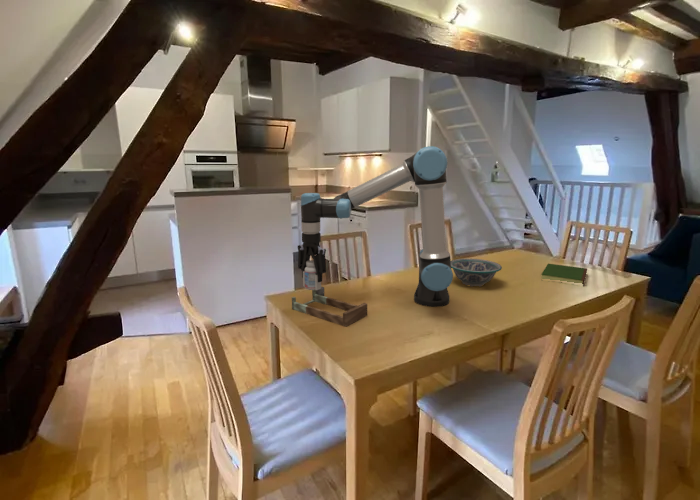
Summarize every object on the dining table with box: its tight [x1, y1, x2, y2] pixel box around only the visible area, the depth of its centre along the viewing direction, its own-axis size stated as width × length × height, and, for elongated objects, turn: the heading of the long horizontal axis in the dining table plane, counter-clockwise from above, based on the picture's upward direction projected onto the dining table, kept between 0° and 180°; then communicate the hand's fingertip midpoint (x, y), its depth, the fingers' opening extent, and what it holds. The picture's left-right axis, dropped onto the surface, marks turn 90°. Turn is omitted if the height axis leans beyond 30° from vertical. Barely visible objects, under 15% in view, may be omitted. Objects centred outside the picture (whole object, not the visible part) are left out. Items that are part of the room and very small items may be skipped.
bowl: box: [451, 258, 503, 287], centre depth 195 cm, size 25×25×10 cm
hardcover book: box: [540, 263, 588, 285], centre depth 205 cm, size 25×19×4 cm
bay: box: [291, 286, 368, 327], centre depth 161 cm, size 30×18×7 cm, turn 52°
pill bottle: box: [304, 259, 320, 291], centre depth 162 cm, size 6×6×11 cm
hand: (312, 287), depth 163 cm, fingers closed on pill bottle, 6 cm apart
